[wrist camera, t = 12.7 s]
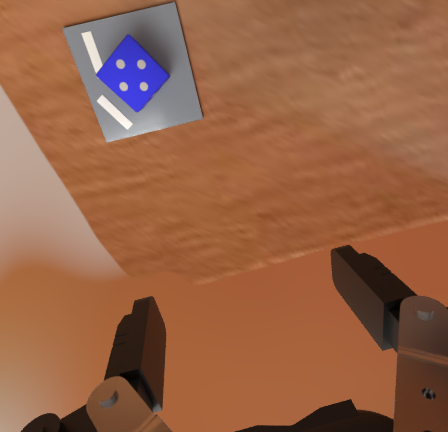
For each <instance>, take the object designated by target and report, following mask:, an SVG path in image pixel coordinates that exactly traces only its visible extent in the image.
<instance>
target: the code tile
mask: <svg viewBox="0 0 448 432" xmlns="http://www.w3.org/2000/svg"><path fill="white" fill-rule="evenodd" d="M62 29H63V32H64V34H65V37H66V40H67V42H68V45H69V47H70V50H71V52H72V55H73V57H74V60H75V63H76V65H77V68H78V70H79V73H80V75H81V78H82V80H83V83H84V86H85V88H86V91H87V93H88V96H89V98H90V101H91V103H92V106H93V109H94V111H95V114H96V116H97V119H98V121H99V124H100V126H101V129H102V132H103V134H104V137H105V139H106V142H111V141H115V140H119V139H123V138H127V137H131V136H135V135H139V134H143V133H147V132H151V131H155V130H159V129H163V128H167V127H171V126H175V125H180V124H184V123H188V122H192V121H196V120H200V119H203V117H202V113H201V108H200V104H199V100H198V96H197V92H196V88H195V83H194V79H193V75H192V71H191V67H190V63H189V58H188V54H187V50H186V46H185V42H184V37H183V33H182V29H181V25H180V21H179V17H178V12H177V8H176V4H175V2H173V3H168V4H164V5H160V6H156V7H151V8H147V9H143V10H139V11H134V12H130V13H126V14H122V15H117V16H113V17H109V18H105V19H100V20H96V21H92V22H88V23H83V24H79V25H75V26H71V27H66V28H62ZM127 34H129V35H131V36H132V37H133V38H134V39H135V40H136V41H137V42H138V43H139V44H140V45H141V46H142V47H143V48H144V49H145V50H146V51H147V52H148V53H149V54H150V55H151V56H152V57H153V58H154V60H155V61H156V62H157V63H158V64H159V65H160V66H161V67H162V68H163V69H164V70H165V71H166V72H167V73H168V74H169V75H170V78H169V79H168V80H167V81H166V82H165V84H164V85H163V86H162V87H161V88H160V89H159V91H158V92H157V93H156V94H155V95H154V96H153V98H152V99H151V100H150V101H149V102H148V103H147V105H146V106H145V107H144V108H143V109H142V110H140V111H139V112H135V111H134V110H133V109H132V108H131V107H130V106H129V105H127V104H126V103H125V102H124V101H123V100H122V99H121V98H120V97H119V96H118V95H116V94H115V93H114V92H113V91H112V90H111V89H110V88H109V87H108V86H107V85H106V84H104V83H103V82H102V81H101V80H100V79H99V78H98V77H97V76H96V73H97V72H98V71H99V69H100V68H101V67H102V66H103V64H104V63H105V62H106V61H107V59H108V58H109V57H110V56H111V54H112V53H113V52H114V50H115V49H116V48H117V47H118V45H119V44H120V43H121V42H122V40H123V39H124V38H125V37H126V35H127Z"/></svg>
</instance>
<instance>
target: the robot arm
mask: <svg viewBox="0 0 448 432" xmlns="http://www.w3.org/2000/svg"><path fill="white" fill-rule="evenodd" d="M331 265H332V278H333V282H334V285H335V287H336V289H337V291H338V292H339V293H340V295H341V296H342V298H343V299H344V300H345V302H346V303H347V304H348V305H349V307H350V308H351V310H352V311H353V312H354V314H355V315H356V316H357V317H358V319H359V320H360V321H361V323H362V324H363V325H364V327H365V328H366V329H367V331H368V332H369V333H370V335H371V336H372V337H373V339H374V340H375V341H376V343H377V344H378V345H379V347H380V348H381V349H382V351H383V350H387V349H390V348H393V349H394V350H395V351H396V352H397V368H396V386H395V402H394V419H391V418H389V417H387V416H384V415H381V414H379V413H375V412H372V411H366V410H356V408H355V406H354V404H353V403H352V401H351V399H350V400H346V401H343V402H339V403H335V404H332V405H328V406H325V407H321V408H319V409H318V410H316V411H314V412H313V413H311V414H310V415H308V416H307V417H305V418H303V419H302V420H300V421H299V422H297V423H296V424H294V425H291V426H267V425H266V426H265V425H260V426H259V425H257V426H253V427H250V428H247V429H243V430H240V431H235V432H448V307H445V306H444V305H443V304H442V303H440V302H439V301H437V300H435V299H432V298H429V297H425V296H418V295H417V294H415V293H414V292H413V291H412V290H411V289H410V288H409V287H408V286H407V285H405V284H404V283H403V282H402V281H401V280H400V279H399V278H398V277H397V276H395V275H394V274H393V273H391V271H390V270H389V269H388V268H386V267H385V266H384V265H383V264H382V263H381V262H380V261H379V260H378V259H377V258H375V257H373V256H370V255H368V254H366V253H362V254H359V253H357V252H356V251H355V250H354V249H353V248H352V247H351V246H350V245H346V246H342V247H338V248H334V249H332V250H331ZM165 349H166V328H165V324H164V321H163V318H162V316H161V314H160V312H159V309H158V306H157V304H156V301H155V299H154V297H152V296H150V297H146V298H142V299H139V300H135V301H134V305H133V310H132V314H129V315H125V316H124V317H123V319H122V320H121V322H120V323H119V325H118V327H117V331H116V334H115V339H114V342H113V348H112V350H111V354H110V358H109V362H108V366H107V370H106V374H105V378H104V381H103V382H102V383H100V384H99V385H98V386H97V387H96V388H95V389H94V390H93V391H92V393H91V395H90V396H89V398H88V401H87V404H86V405H84V406H83V407H81V408H79V409H78V410H76V411H74V412H72V413H71V414H69V415H67V416H65V417H64V418H62V419H60V418H59V417H58V416H57V415H56V414H52V413H47V414H43V415H41V416H39V417H37V418H35V419H34V420H33V421H31V422H30V423H29V424H28V425H26V426H25V427H24V428H23V430H22V431H21V432H172V431H171V429H170V428H169V427H168V426H167V425H166V424H165V422H164V421H163V420H162V419H161V418H160V416H158V415H155V414H154V413H155V412H158V411H162V405H163V387H164V368H165Z"/></svg>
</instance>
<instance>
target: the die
mask: <svg viewBox="0 0 448 432" xmlns="http://www.w3.org/2000/svg"><path fill="white" fill-rule="evenodd" d="M96 76H97V77H98V78H99V79H100V80H101V81H102V82H103V83H104V84H106V85H107V86H108V87H109V88H110V89H111V90H112V91H113V92H114V93H115V94H116V95H118V96H119V97H120V98H121V99H122V100H123V101H124V102H125V103H126V104H127V105H129V106H130V107H131V108H132V109H133V110H134V111H135V112H139V111H140V110H142V109H143V108H144V107H145V106H146V105H147V103H148V102H149V101H150V100H151V99H152V98H153V96H154V95H155V94H156V93H157V92H158V91H159V89H160V88H161V87H162V86H163V85H164V84H165V82H166V81H167V80H168V79H169V78H170V75H169V74H168V73H167V72H166V71H165V70H164V69H163V68H162V67H161V66H160V65H159V64H158V63H157V62H156V61H155V60H154V58H153V57H152V56H151V55H150V54H149V53H148V52H147V51H146V50H145V49H144V48H143V47H142V46H141V45H140V44H139V43H138V42H137V41H136V40H135V39H134V38H133V37H132V36H131V35H129V34H127V35H126V37H125V38H124V39H123V40H122V42H121V43H120V44H119V45H118V47H117V48H116V49H115V50H114V52H113V53H112V54H111V56H110V57H109V58H108V59H107V61H106V62H105V63H104V64H103V66H102V67H101V68H100V69H99V71H98V72H97V73H96Z"/></svg>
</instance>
